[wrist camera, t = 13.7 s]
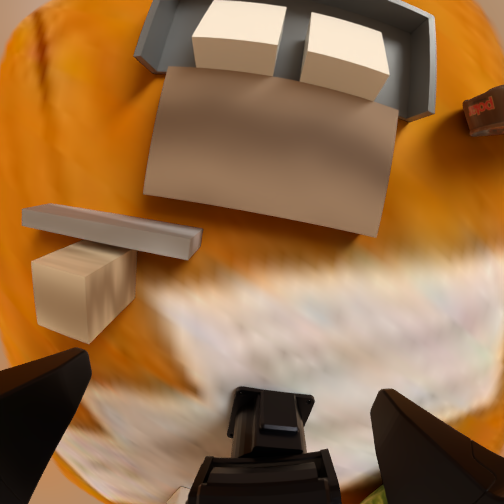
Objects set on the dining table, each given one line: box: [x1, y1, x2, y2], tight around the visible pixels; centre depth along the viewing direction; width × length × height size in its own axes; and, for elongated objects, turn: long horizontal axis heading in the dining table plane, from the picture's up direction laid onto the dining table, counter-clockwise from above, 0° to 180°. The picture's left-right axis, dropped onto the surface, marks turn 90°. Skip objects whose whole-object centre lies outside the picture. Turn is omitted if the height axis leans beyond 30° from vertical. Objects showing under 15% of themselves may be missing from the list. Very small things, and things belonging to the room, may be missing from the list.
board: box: [143, 66, 399, 238], centre depth 17 cm, size 8×14×2 cm, turn 80°
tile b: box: [192, 0, 287, 76], centre depth 14 cm, size 4×4×2 cm
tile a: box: [300, 12, 390, 101], centre depth 14 cm, size 4×4×2 cm
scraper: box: [22, 203, 203, 344], centre depth 16 cm, size 6×13×7 cm, turn 80°
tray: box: [134, 0, 436, 122], centre depth 14 cm, size 8×18×4 cm, turn 80°
